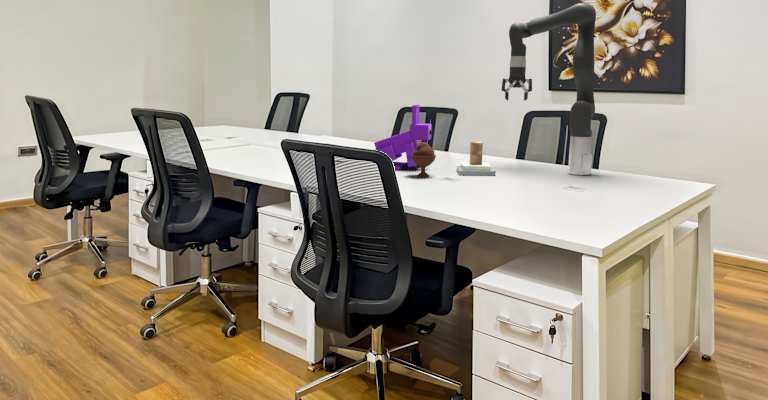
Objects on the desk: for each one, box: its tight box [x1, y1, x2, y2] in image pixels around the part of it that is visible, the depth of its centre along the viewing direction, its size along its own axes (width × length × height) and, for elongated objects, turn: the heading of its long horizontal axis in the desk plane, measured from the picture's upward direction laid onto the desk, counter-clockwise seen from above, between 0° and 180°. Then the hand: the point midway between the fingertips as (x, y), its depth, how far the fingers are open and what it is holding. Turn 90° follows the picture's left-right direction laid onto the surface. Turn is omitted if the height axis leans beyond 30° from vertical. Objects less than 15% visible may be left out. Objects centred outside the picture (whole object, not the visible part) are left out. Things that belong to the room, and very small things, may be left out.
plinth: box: [456, 161, 496, 177], centre depth 292 cm, size 16×16×4 cm
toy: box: [373, 104, 433, 172], centre depth 303 cm, size 14×28×30 cm, turn 75°
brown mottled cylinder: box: [469, 141, 484, 165], centre depth 291 cm, size 5×5×10 cm
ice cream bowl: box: [411, 141, 437, 178], centre depth 281 cm, size 11×11×15 cm
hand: (516, 100), depth 307 cm, fingers open, 8 cm apart
